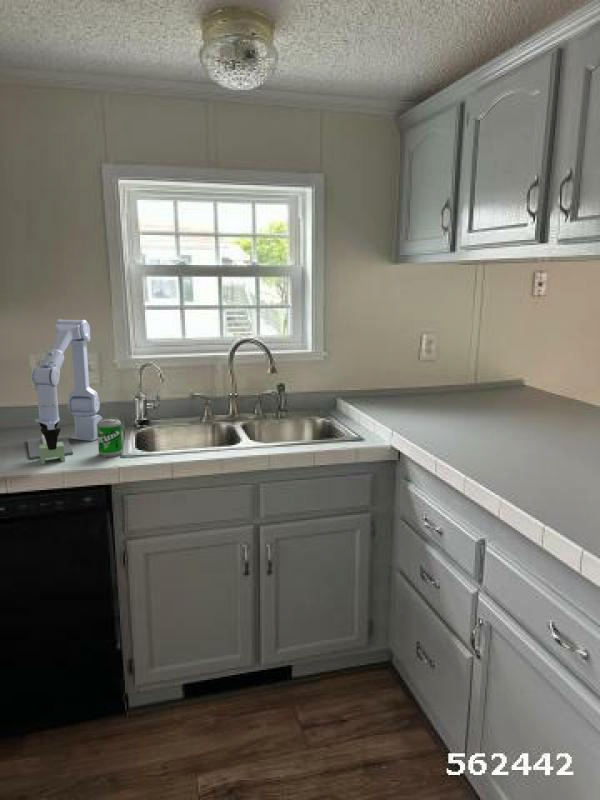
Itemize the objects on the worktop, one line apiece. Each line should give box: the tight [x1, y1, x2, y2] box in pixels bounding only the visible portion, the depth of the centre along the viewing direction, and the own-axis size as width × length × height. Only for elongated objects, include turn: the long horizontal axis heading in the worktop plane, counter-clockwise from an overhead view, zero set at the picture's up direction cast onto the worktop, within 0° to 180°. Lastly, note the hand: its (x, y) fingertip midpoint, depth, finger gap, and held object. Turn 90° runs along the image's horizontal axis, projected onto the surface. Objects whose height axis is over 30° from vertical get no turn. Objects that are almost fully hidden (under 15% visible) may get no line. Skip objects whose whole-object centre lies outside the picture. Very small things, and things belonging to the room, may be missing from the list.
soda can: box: [97, 417, 123, 458], centre depth 182 cm, size 8×8×12 cm
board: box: [26, 434, 74, 460], centre depth 189 cm, size 13×22×2 cm, turn 28°
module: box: [39, 442, 66, 465], centre depth 176 cm, size 7×5×6 cm
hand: (51, 446), depth 175 cm, fingers open, 7 cm apart
